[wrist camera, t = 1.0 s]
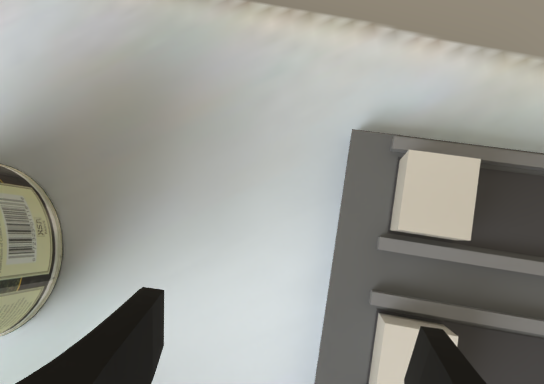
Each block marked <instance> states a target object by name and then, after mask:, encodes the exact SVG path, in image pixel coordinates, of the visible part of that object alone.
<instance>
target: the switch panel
mask: <svg viewBox="0 0 544 384" xmlns="http://www.w3.org/2000/svg"><path fill="white" fill-rule="evenodd" d="M408 150H416V151H423V152H431V153H439V154H446V155H454V156H462V157H469V158H477V159H481V162H480V170H479V178H478V186H477V194H476V202H475V210H474V217H473V225H472V233H471V241H466V240H449V239H443V238H436V237H430V236H423V235H417V234H410V233H404V232H397V231H391V230H390V227H391V219H392V212H393V205H394V198H395V191H396V184H397V176H398V169H399V162H400V159H401V158H402V157H403V156H404V155H405V154H406V152H407V151H408ZM378 313H383V314H388V315H394V316H399V317H405V318H411V319H416V320H422V321H427V322H433V323H439V324H443V325H444V326H446V327H447V328H448V329H449V330H451V331H452V332H453V333H455V334H456V335H457V336H458V344H457V347H458V349H459V350H460V351H461V353H462V354H463V355H464V356H465V358H466V359H467V360H468V361H469V363H470V364H471V365H472V366H473V368H474V369H475V370H476V371H477V373H478V374H479V375H480V376H481V377H482V379H483V380H484V381H485V382H486V383H487V384H544V154H543V153H535V152H527V151H519V150H511V149H504V148H496V147H488V146H480V145H472V144H464V143H456V142H448V141H441V140H433V139H425V138H417V137H409V136H401V135H393V134H385V133H378V132H370V131H362V130H354V129H352V134H351V140H350V147H349V154H348V161H347V167H346V174H345V181H344V188H343V195H342V201H341V208H340V215H339V222H338V228H337V235H336V242H335V249H334V255H333V262H332V269H331V276H330V283H329V289H328V296H327V303H326V310H325V316H324V323H323V330H322V337H321V344H320V350H319V357H318V364H317V371H316V377H315V384H369V377H370V370H371V363H372V356H373V349H374V341H375V334H376V327H377V320H378Z"/></svg>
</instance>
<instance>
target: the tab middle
mask: <svg viewBox="0 0 544 384" xmlns="http://www.w3.org/2000/svg"><path fill="white" fill-rule="evenodd" d="M420 326H424V327H431V328H439V329H443V330H444V331H445V332H446V334H447V335H448V336H449V337H450V339H451V340H452V341H453V342H454V344H455V345H456V346H457V344H458V336H457V335H456V334H455V333H453V332H452V331H451V330H449V329H448V328H447V327H446V326H444V325H443V324H439V323H433V322H427V321H422V320H416V319H411V318H405V317H399V316H394V315H388V314H383V313H378V320H377V327H376V334H375V341H374V349H373V356H372V363H371V370H370V377H369V384H404V378H405V375H406V372H407V369H408V365H409V362H410V359H411V356H412V352H413V349H414V346H415V343H416V339H417V336H418V333H419V330H420Z"/></svg>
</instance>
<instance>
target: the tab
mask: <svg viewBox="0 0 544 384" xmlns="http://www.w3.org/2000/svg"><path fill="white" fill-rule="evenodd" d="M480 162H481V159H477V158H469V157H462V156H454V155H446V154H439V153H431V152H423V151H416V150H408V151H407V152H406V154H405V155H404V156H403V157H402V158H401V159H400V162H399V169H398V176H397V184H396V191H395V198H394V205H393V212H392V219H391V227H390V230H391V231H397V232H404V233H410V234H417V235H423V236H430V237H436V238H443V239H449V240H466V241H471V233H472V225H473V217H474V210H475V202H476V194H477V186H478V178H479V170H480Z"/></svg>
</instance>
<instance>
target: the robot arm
mask: <svg viewBox="0 0 544 384" xmlns="http://www.w3.org/2000/svg"><path fill="white" fill-rule="evenodd" d="M163 346H164V290H160V289H153V288H146V287H142V288H141V289H139V290H138V291H137V292H136V293H135V294H134V295H133V296H132V297H130V298H129V299H128V300H127V301H126V302H125V303H124V304H123V305H122V306H120V307H119V308H118V309H117V310H116V311H115V312H114V313H112V314H111V315H110V316H109V317H108V318H107V319H105V320H104V321H103V322H102V323H101V324H99V325H98V326H97V327H96V328H95V329H93V330H92V331H91V332H90V333H88V334H87V335H86V336H85V337H83V338H82V339H81V340H79V341H78V342H77V343H75V344H74V345H73V346H71V347H70V348H69V349H67V350H66V351H65V352H63V353H62V354H61V355H59V356H58V357H56V358H55V359H54V360H52V361H51V362H49V363H48V364H46V365H45V366H43V367H42V368H40V369H39V370H37V371H35V372H34V373H32V374H31V375H29V376H28V377H26V378H24V379H23V380H21V381H19V382H17V383H15V384H151V382H152V380H153V377H154V374H155V371H156V368H157V365H158V362H159V359H160V356H161V352H162V349H163ZM404 384H487V383H486V382H485V381H484V380H483V379H482V377H481V376H480V375H479V374H478V373H477V371H476V370H475V369H474V368H473V366H472V365H471V364H470V363H469V361H468V360H467V359H466V358H465V356H464V355H463V354H462V353H461V351H460V350H459V349H458V347H457V346H456V345H455V344H454V342H453V341H452V340H451V339H450V337H449V336H448V335H447V334H446V332H445V331H444V330H443V329H439V328H431V327H424V326H420V330H419V333H418V336H417V339H416V343H415V346H414V349H413V352H412V356H411V359H410V362H409V365H408V369H407V372H406V375H405V378H404Z"/></svg>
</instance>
